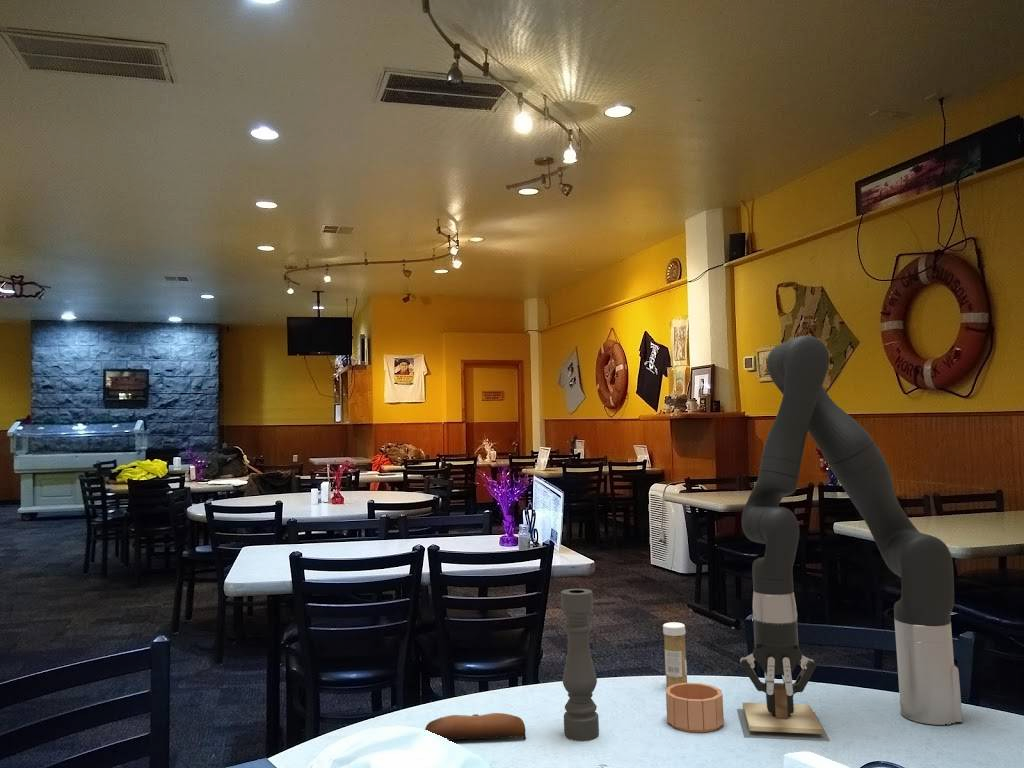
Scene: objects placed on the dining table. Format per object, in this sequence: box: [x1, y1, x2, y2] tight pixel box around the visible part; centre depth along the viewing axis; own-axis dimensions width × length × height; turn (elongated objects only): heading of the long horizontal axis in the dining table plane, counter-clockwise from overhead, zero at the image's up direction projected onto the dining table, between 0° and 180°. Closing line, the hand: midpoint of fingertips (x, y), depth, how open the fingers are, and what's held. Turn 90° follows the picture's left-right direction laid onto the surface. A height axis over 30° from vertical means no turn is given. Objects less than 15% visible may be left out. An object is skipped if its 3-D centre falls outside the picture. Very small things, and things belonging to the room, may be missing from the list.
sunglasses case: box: [424, 712, 527, 741], centre depth 136 cm, size 18×7×7 cm, turn 92°
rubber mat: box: [736, 708, 831, 742], centre depth 136 cm, size 14×14×1 cm
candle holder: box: [560, 588, 600, 742], centre depth 136 cm, size 6×6×25 cm
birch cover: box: [742, 682, 824, 734], centre depth 136 cm, size 12×12×6 cm
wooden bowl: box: [665, 682, 725, 733], centre depth 138 cm, size 10×10×6 cm
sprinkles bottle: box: [662, 621, 688, 689], centre depth 157 cm, size 5×5×13 cm
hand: (780, 714), depth 136 cm, fingers closed on birch cover
